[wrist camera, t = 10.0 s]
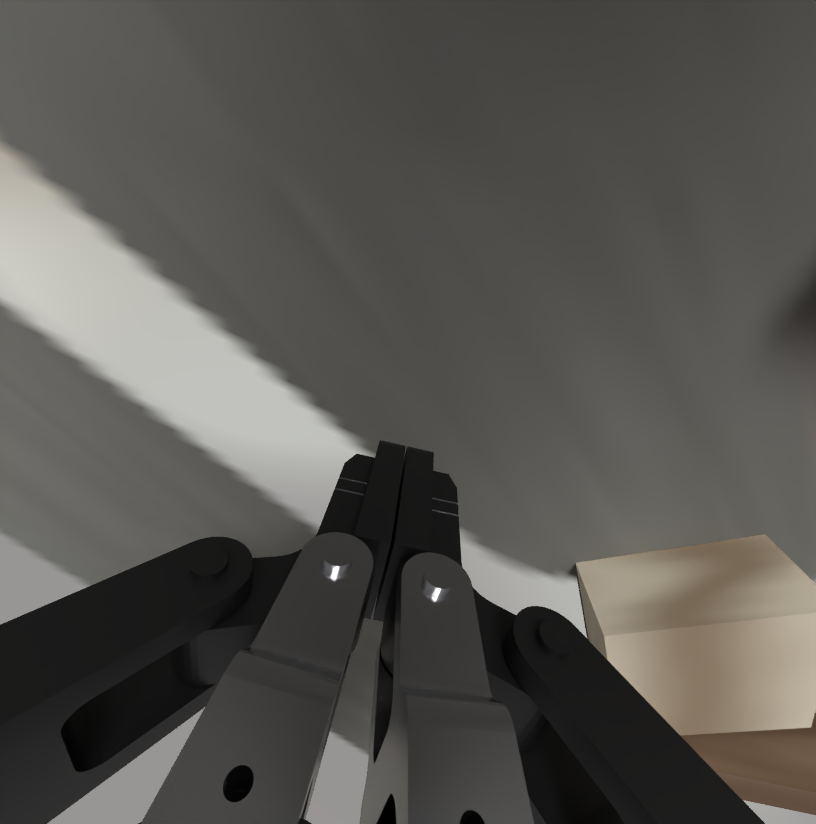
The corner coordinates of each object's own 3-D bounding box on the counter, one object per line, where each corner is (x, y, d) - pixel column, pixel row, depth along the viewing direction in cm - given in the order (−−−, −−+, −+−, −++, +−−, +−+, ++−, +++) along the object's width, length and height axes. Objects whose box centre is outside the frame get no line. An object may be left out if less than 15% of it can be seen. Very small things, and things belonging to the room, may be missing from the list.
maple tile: (759, 528, 13) (841, 609, 10) (746, 638, 15) (811, 727, 13) (573, 556, 14) (604, 636, 11) (590, 655, 17) (618, 739, 14)
